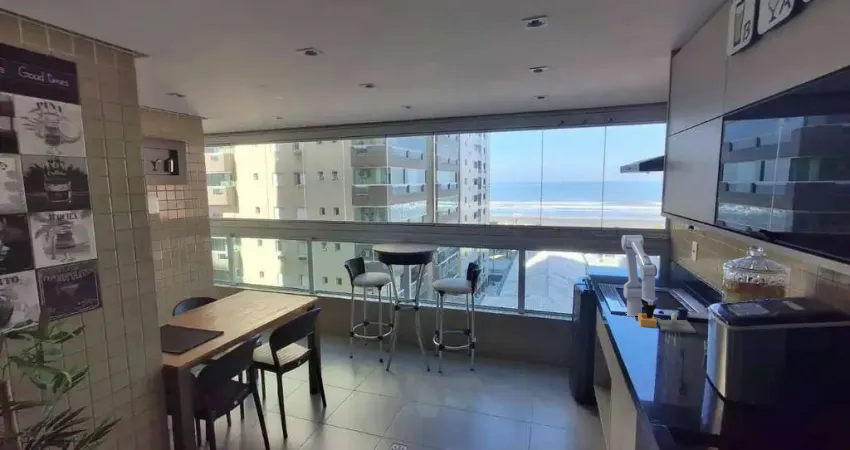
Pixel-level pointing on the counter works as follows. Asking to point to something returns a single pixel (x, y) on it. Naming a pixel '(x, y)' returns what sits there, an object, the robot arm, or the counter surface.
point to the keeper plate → (675, 325)
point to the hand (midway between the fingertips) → (648, 315)
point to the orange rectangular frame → (646, 320)
